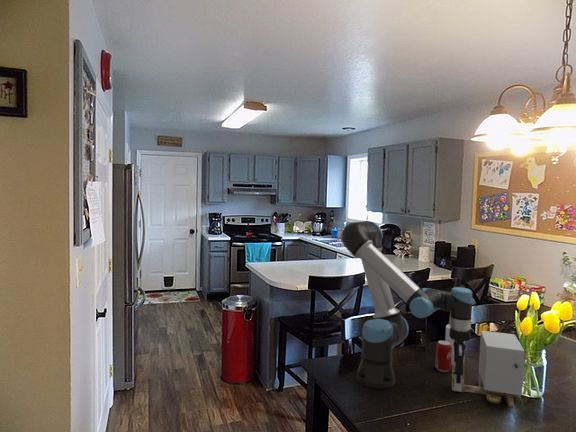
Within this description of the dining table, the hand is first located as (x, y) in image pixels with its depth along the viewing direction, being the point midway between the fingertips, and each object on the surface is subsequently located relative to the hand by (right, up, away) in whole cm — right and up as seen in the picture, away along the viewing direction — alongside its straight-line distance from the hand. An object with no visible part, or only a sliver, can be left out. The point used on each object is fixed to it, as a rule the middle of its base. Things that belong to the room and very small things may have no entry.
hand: (457, 387), depth 162 cm
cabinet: (+14, -1, -5) cm, 14 cm away
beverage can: (+1, 0, +18) cm, 18 cm away
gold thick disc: (+10, -2, -8) cm, 13 cm away
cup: (+9, +1, +26) cm, 28 cm away
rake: (+7, -1, -5) cm, 9 cm away
